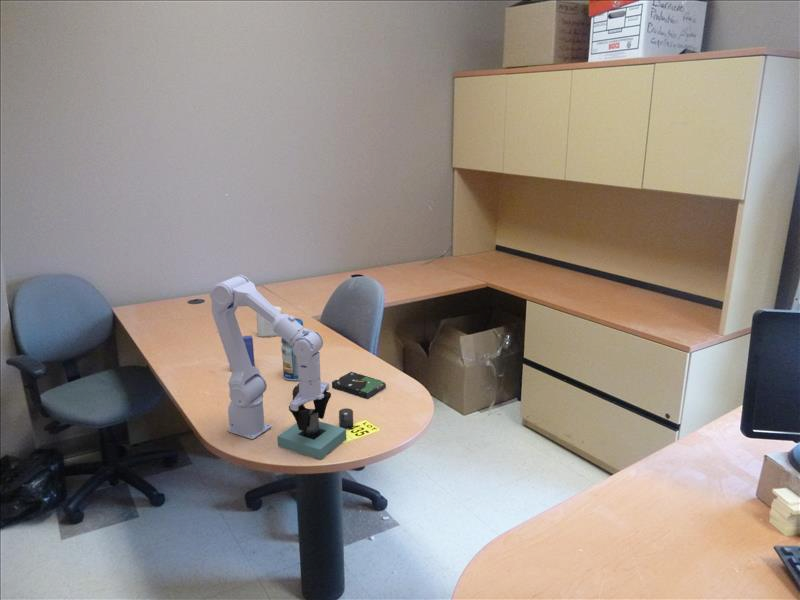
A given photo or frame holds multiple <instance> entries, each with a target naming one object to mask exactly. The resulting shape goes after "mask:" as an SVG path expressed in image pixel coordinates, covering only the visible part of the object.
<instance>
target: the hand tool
mask: <svg viewBox="0 0 800 600" xmlns="http://www.w3.org/2000/svg"><path fill="white" fill-rule="evenodd" d="M298 393H299V382H297V384H296V385H295V386H294V387H293V389H292V401H293V400H294V398H295V397H296V396H297V394H298Z"/></svg>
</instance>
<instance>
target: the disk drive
mask: <svg viewBox="0 0 800 600" xmlns="http://www.w3.org/2000/svg"><path fill="white" fill-rule="evenodd" d="M386 388H387V384H386V382H384V381H382V380H380V379H377V378H374V377H371V376H368V375H363V374H362V373H357V372H354V371H350V372H348V373H346V374H344V375H341V376H339V379H335V380H333V381H331V389H334V390H336V389H337V391H341V392H344V393H347V394H350V395H352V396H356V397H358V396H359V398H361V399H364V400H365V399H366V400H369V399H371V398H372V397H374V396H375V395H377V394H379V393H380V392H382V391H384V390H385V389H386ZM383 389H384V390H383ZM378 392H379V393H378Z"/></svg>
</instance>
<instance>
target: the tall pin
mask: <svg viewBox="0 0 800 600" xmlns="http://www.w3.org/2000/svg"><path fill="white" fill-rule="evenodd" d="M309 409H310V412H309V415H308V420H307V430H306V431H304V437H307V438H310V439H313V440H315V439H316V438H317V437H319V421H320V420H319V419H320V418H319V417H318V411H317V410H316V409H315V408H309Z"/></svg>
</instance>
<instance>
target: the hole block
mask: <svg viewBox="0 0 800 600" xmlns="http://www.w3.org/2000/svg"><path fill="white" fill-rule="evenodd" d="M276 439H277V446H278V447H280V448H283V449H286V450H289V451H292V452H296V453H298V454H302V455H304V456H307V457H310V458H314V459H317V460H320V461H321V460H322V459H324V457H326V456H327V455H328V454H330V453H331V452H332V451H333V450H334V449H336V448H337V447H338V446H340V444H342V443H343V442H344V441H345V440H347V429H344V428H341V427H339V426H338V425H333V424H331V423H330V424H329V423H326V422H324V421H323V422H322V421H320V420H319V437H317V438H316V439H315V440H313V439H310V438H307V437H304V431H301V430H299V428H298V425H297V422H296V423H294V424H293V425H292V426H290V427H288V428H287V429H286V430H283V432H282V433H280V434H278V435H277V438H276Z"/></svg>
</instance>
